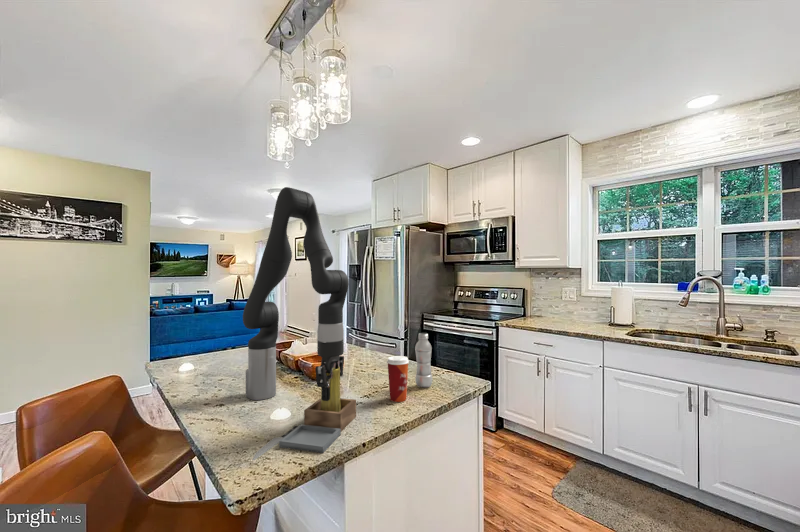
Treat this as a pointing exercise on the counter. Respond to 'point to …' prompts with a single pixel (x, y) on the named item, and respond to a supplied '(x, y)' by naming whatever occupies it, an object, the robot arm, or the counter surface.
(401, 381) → the paper cup
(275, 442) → the chef's knife
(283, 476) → the counter surface
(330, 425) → the brown wooden box
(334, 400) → the vase
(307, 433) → the tray
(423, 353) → the plastic bottle
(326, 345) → the robot arm
